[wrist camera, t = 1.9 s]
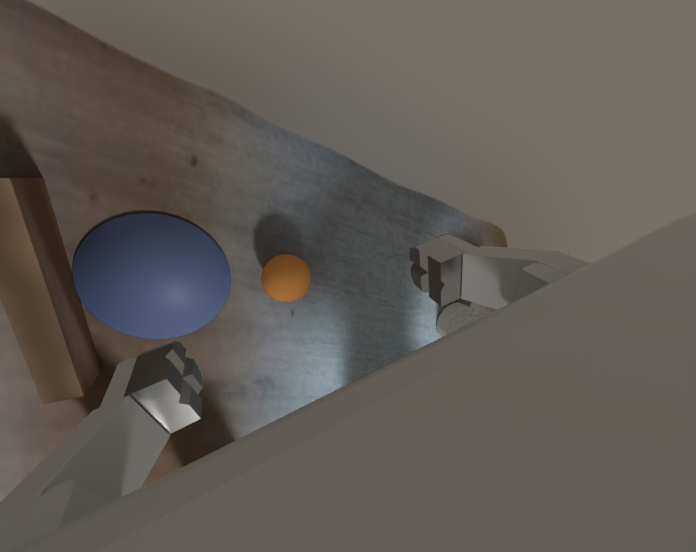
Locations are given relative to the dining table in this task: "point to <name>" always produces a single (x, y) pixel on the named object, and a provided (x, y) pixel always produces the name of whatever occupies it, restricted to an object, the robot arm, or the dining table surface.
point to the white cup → (457, 318)
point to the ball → (286, 278)
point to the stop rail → (42, 293)
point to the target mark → (151, 276)
